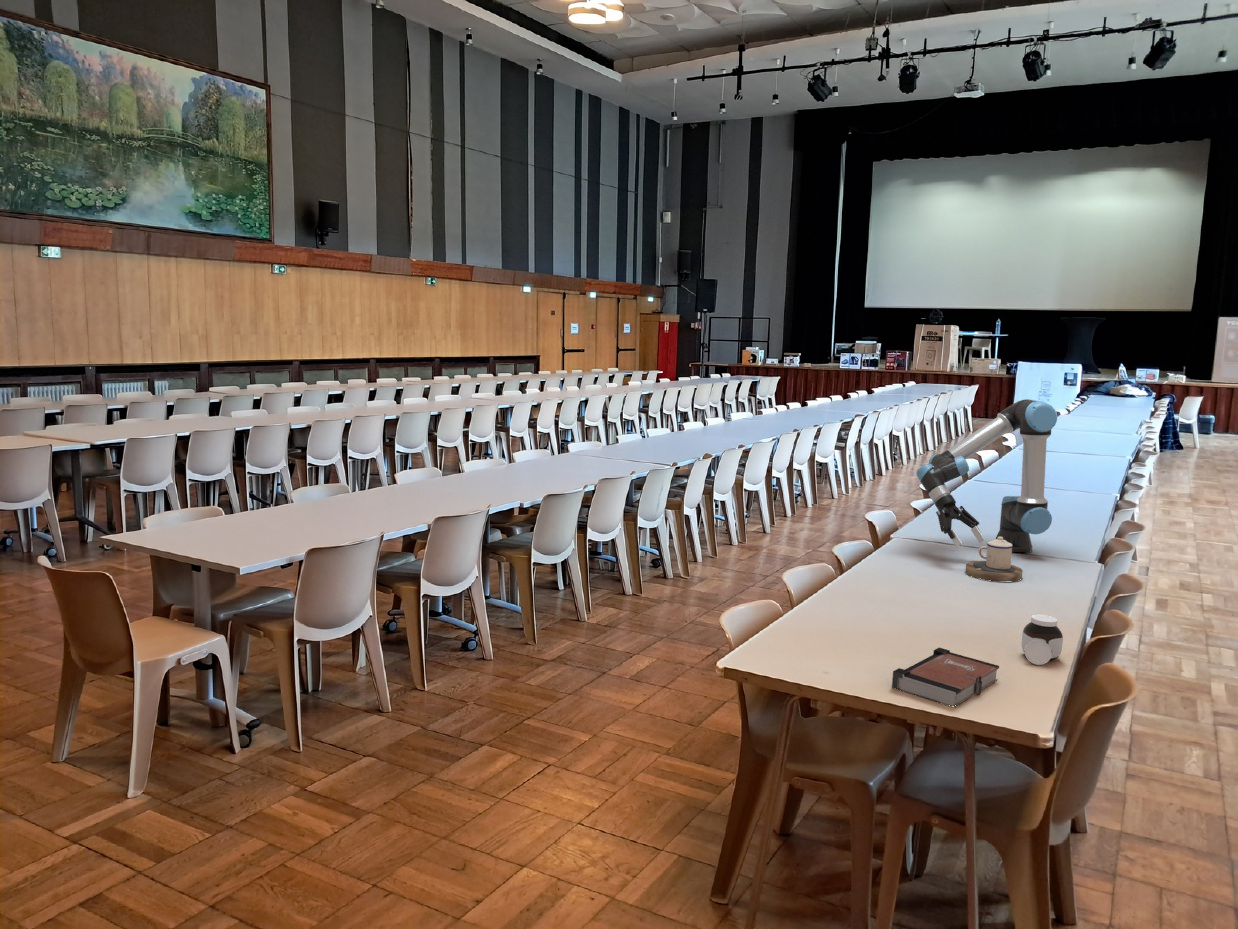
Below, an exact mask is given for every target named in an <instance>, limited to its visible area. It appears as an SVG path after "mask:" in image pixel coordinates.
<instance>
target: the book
mask: <svg viewBox="0 0 1238 929" xmlns="http://www.w3.org/2000/svg"><path fill="white" fill-rule="evenodd" d="M998 669H1000V665H999V664H998V665H997V664H994V663H990V662H987V661H983V660H979V659H977V658H973V657H969V656H965V655H962V654H958V653H955V652H951V651H950V650H949V649H946V648H943V647H938V648H935V649H934V650H933V654H932V655H930V656H928V657H925V658H924V659H922V660H920V661H919V662H917V663H914V664H913V665H911V666H909V667H907V668H905V669H903V668H900V667H899V668H897V669H895V670H893V671H892V679H891V680H892V684H891V688H892V689H894V688H896V689H895V690H897V689H898V690H897V691H900V690H901V692H903V691H904V692H903V693H907V694H910V695H912V696H915V695H916V696H915V697H919V698H922V699H925V700H928V701H932V702H934V703H937V702H938V704H940V703H942V704H941V705H943V704H944V705H943V706H946V705H950V706H954V707H956V706H957V707H959V706H960V705H962V704H963V702H964V703H966V701H968V700H969V698H970V699H972V698H973V697H974V696H978V695H980V694H982V691H983V689H984V690H985V689H987V688H989V687H990V686H991V685H990V684H992V685H994V682H995V681H996V682H998V681H999V679H998V678H997V670H998ZM997 680H998V681H997ZM996 682H995V683H996ZM989 685H990V686H989ZM955 705H956V706H955ZM958 705H959V706H958ZM957 707H956V708H957Z"/></svg>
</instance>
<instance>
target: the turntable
mask: <svg viewBox="0 0 1238 929" xmlns="http://www.w3.org/2000/svg"><path fill="white" fill-rule="evenodd" d="M1023 571H1024V570H1023V569H1022V568H1021V567H1019V566H1018V565H1014V564H1011V567H1010V569H1005V570H1001V569H993V568H989V567H987V566H986V560H972V561H968V562H967V563H966V564H965V571H964V572H965V574H966V575H968V576H969V575H970V576H969V577H971V576H972V578H975V579H977V578H981V579H985V580H984V581H986V580H991V581H990V582H993V581H1017V582H1019V581H1018V580H1020V579H1021V578H1022V579H1023V573H1024V572H1023ZM981 579H980V580H981ZM1022 579H1021V580H1022ZM1021 580H1020V581H1021Z"/></svg>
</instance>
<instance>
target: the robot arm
mask: <svg viewBox="0 0 1238 929" xmlns="http://www.w3.org/2000/svg"><path fill="white" fill-rule="evenodd" d="M1057 421H1058V415H1057V411H1056V409H1055V408H1054V407H1053V406H1052V405H1051V404H1049V403H1047V402H1045V401H1041V400H1034V399H1028V398H1027V399H1021V400H1018V401H1016V402H1014V403H1013V404H1011V405H1009V406H1008V407H1006V408H1005V409H1003V410H1001V411H1000V412H998V413H997V416H996V417H995V418H994V419H992V420H991V421H989V422H987V423H985V425H983V426H981V427H980V428H979V429H977V430H975V431H973V432H972V433H971V434H969V435H968V436H967V437H965V438H963V439H962V440H960V441H958V442H957V443H955V444H954V445H953V446H951V447H949V448H948V449H946V450H945V451H943V452H942V453H935V454H933V455H932V456H931V457H930V458H929V460H928V463H927V464H924V465H921V466H920V467H919V468H918V469H917V470H916V477H917V478H918V480H919V482H920V484H921V485H922V486H923V488H924V489H925V491H926V492H927V494H928V496H929V497H930V499H931V501H932V502H933V504H934V505H935V507H936V509H937V511H936V512H935V514H936V516H937V519H938V523H939V528H940V532H942V533H943V534H944V535H946V534H947V535H948V536H949V538H950V540H951V541H952V542H953V543H954V546H955V547H956V548H958V547H959V546H962V544H963V542H962V540H961V539H960V537H959V535H958V534H957V533H956V531H955V530H954V529H952V527H953V526H952V522H953V520H957V521H960V522H961V523H962V524H965V525H966V526H967V527H969V528H970V531H971V532H972V534H973V535H974V538H976V541H978V543H979V544H982V543H983V542H984V541H986V539H985V537H984V535H983V534H982V531H981V530H980V529H979V527H978V525H980V521H978V520H977V519H976V518H975V517H974V516H972V514H971V513H970V512H968V511H967V510H966V509H965V507H964V506H963V505H960V506H959V507H958V506H957V505H956V504H957V502H956V500H955V498H954V496H953V495H952V494H951V492H950V490H949V488H948V487H947V486H946V483H948V482H950V481H953V480H955V479H957V478H960V477H963V475H965V474H967V473H968V472H969V471H970V466H969V464H968V462H967V459H969V458H970V457H971V456H973V455H975V453H976V454H977V453H978V452H979V451H980V450H982V449H984V448H986V447H987V446H989V445H990V444H991V443H993V442H995V441H997V440H998V439H1000V438H1001V437H1002V436H1004V435H1006V434H1007V433H1014V432H1015V431H1017V430H1018V429H1019V435H1020V436H1021V437H1022V438H1023V443H1022V461H1021V462H1022V465H1021V466H1022V467H1021V486H1020V488H1021V490H1020V496H1019V495H1004V496H1003V497H1002V501H1001V504H1000V505H1001V509H1000V510H1001V511H1000V520H999V521H1000V522H999V529H998V532H997V535H996V537H995V539H997V538H998V537H1003V540H1005V541H1007V542H1008V543H1011V544H1012V545H1013V547H1012V553H1013V552H1029V553H1031V552H1030V551H1032V552H1033V544H1032V539H1031V536H1030V534H1031V535H1040V534H1043V533H1044V532H1046V531H1047V530H1049V528H1050V526H1051V524H1052V522H1053V517H1052V514H1051V512H1050V511H1049V509H1048V504H1049V501H1048V500H1047V498H1046V497H1045V484H1046V482H1045V479H1046V463H1047V462H1046V458H1047V443H1048V442H1047V439H1048V438H1049V437H1051V436H1052V430H1053V429H1054V427H1055V426H1056V425H1057Z"/></svg>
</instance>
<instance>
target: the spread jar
mask: <svg viewBox="0 0 1238 929" xmlns="http://www.w3.org/2000/svg"><path fill="white" fill-rule="evenodd" d="M1058 621H1059V620H1058V619H1057V618H1056V617H1054V616H1050V615H1047V614H1033V615H1031V618H1030V622H1029V623H1027V624H1026V625H1025V626H1024V628H1023V630H1022V633H1021V649H1022V651H1023V653H1024V655H1025V658H1026V659H1027V660H1028V661H1029V662H1030V663H1032V664H1033V665H1036V666H1037V665H1038V666H1041V665H1042V666H1043V665H1045V664H1047V663H1048V661H1050V662H1053V661H1055V660H1057V659H1059V657H1060V656H1061V655H1062V651H1063V643H1064V638H1063V636H1064V635H1063V632H1062V630H1061V629H1060V628H1059V627H1058Z"/></svg>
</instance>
